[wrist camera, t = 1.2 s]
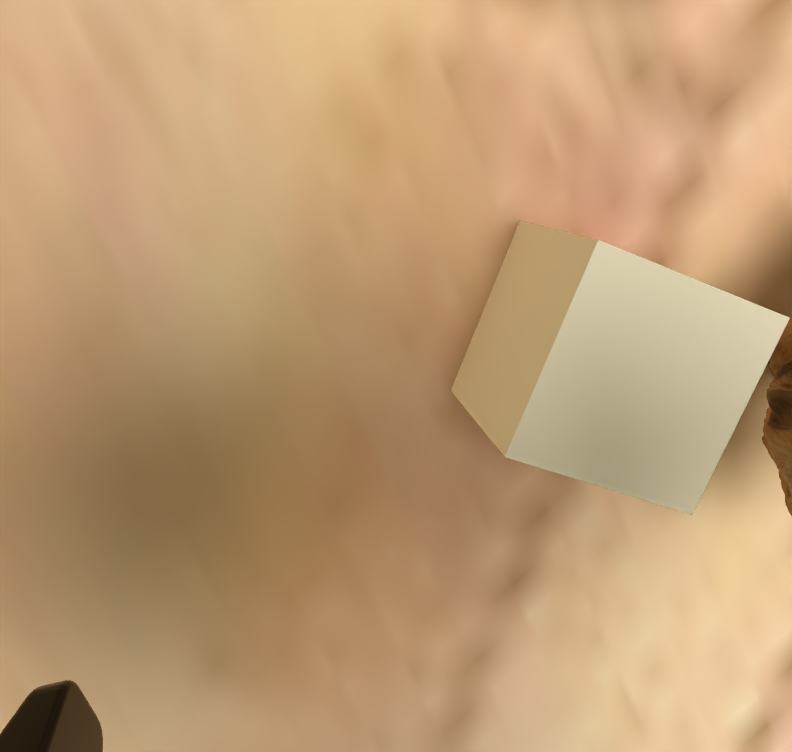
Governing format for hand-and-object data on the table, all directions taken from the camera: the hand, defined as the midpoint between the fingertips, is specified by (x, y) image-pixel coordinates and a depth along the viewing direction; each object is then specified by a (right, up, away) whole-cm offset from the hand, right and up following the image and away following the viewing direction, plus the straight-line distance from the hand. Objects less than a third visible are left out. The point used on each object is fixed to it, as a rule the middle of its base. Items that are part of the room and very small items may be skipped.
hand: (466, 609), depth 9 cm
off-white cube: (+4, +4, +12) cm, 14 cm away
